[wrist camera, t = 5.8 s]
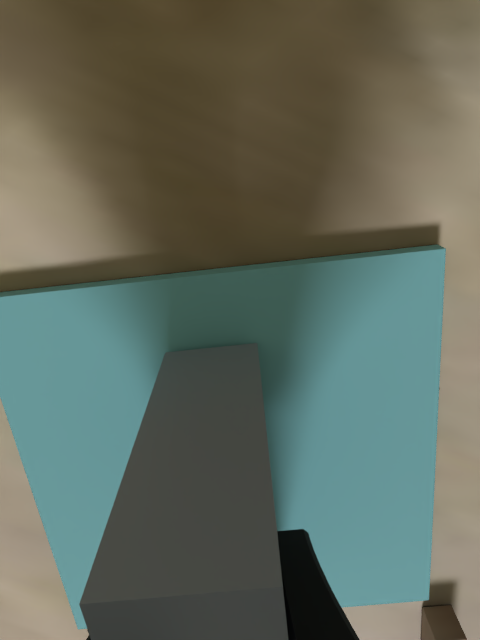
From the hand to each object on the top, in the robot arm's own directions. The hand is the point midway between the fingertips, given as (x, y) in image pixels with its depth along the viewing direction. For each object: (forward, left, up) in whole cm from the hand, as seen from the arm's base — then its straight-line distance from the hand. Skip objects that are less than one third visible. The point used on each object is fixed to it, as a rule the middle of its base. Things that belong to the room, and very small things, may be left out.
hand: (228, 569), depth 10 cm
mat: (0, 0, -4) cm, 4 cm away
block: (0, 0, -3) cm, 3 cm away
